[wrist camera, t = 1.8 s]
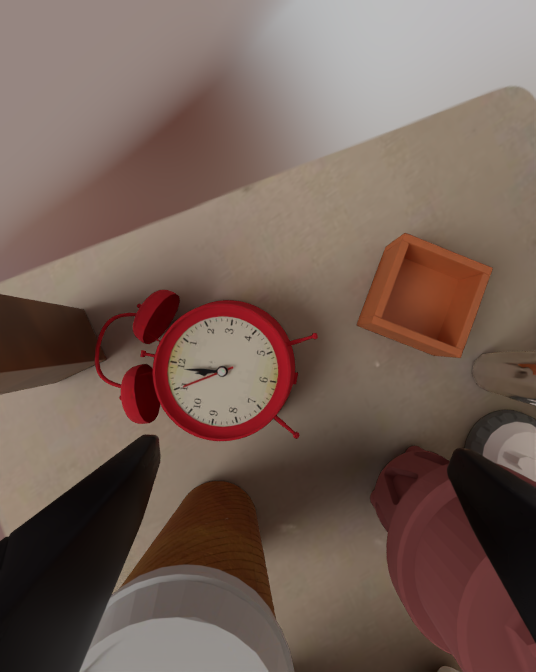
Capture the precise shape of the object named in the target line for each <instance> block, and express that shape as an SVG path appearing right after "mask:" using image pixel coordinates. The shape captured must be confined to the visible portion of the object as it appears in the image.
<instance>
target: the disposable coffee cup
mask: <svg viewBox="0 0 536 672" xmlns="http://www.w3.org/2000/svg"><path fill="white" fill-rule="evenodd" d="M79 672H294V667H293V662H292V657H291V653H290V649H289V646H288V644H287V641H286V639H285V637H284V634H283V632H282V629H281V628H280V626H279V624H278V623H277V621H276V617H275V613H274V606H273V602H272V596H271V591H270V585H269V581H268V574H267V568H266V564H265V558H264V553H263V547H262V543H261V537H260V532H259V526H258V521H257V515H256V510H255V507H254V504H253V502H252V500H251V498H250V497H249V496H248V494H247V493H246V492H245V491H243V490H242V489H241V488H240V487H238V486H236V485H234V484H232V483H228V482H225V481H212V482H207V483H204V484H201V485H200V486H198V487H196V488H194V489H193V490H192V491H191V492H190V493H189V494H188V495H187V496H186V497H185V499H184V500H183V502H182V503H181V504H180V506H179V507H178V508H177V510H176V511H175V513H174V514H173V515H172V517H171V518H170V520H169V521H168V522H167V524H166V525H165V527H164V528H163V529H162V531H161V532H160V533H159V535H158V536H157V537H156V539H155V540H154V542H153V543H152V544H151V546H150V547H149V549H148V550H147V551H146V553H145V554H144V555H143V557H142V558H141V559H140V561H139V562H138V564H137V565H136V566H135V568H134V569H133V571H132V572H131V573H130V575H129V576H128V577H127V579H126V580H125V582H124V583H123V584H122V586H121V587H120V588H119V590H118V591H116V592H114V593H113V594H112V595H111V597H110V599H109V602H108V604H107V607H106V609H105V611H104V614H103V616H102V619H101V621H100V623H99V626H98V628H97V631H96V633H95V635H94V638H93V640H92V643H91V645H90V647H89V650H88V652H87V655H86V657H85V659H84V662H83V664H82V667H81V669H80V671H79Z"/></svg>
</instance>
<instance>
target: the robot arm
mask: <svg viewBox="0 0 536 672" xmlns="http://www.w3.org/2000/svg"><path fill="white" fill-rule="evenodd" d="M159 464H160V447H159V438H158V436H157V435H142V436H140V437H139V438H138V439H136V440H135V441H134V442H132V443H131V444H130V445H128V446H127V447H126V448H124V449H123V450H122V451H120V452H119V453H118V454H116V455H115V456H114V457H112V458H111V459H110V460H108V461H107V462H106V463H104V464H103V465H102V466H100V467H99V468H98V469H96V470H95V471H94V472H92V473H91V474H89V475H88V476H87V477H85V478H84V479H83V480H81V481H80V482H79V483H77V484H76V485H75V486H73V487H72V488H71V489H69V490H68V491H67V492H65V493H64V494H63V495H61V496H60V497H59V498H57V499H56V500H55V501H53V502H52V503H51V504H49V505H48V506H47V507H45V508H44V509H43V510H41V511H40V512H39V513H37V514H36V515H35V516H33V517H32V518H31V519H29V520H28V521H27V522H25V523H24V524H22V525H21V526H20V527H18V528H17V529H16V530H14V531H13V532H12V533H11V534H10V536H9V537H5V538H4V539H2V540H1V541H0V672H79V671H80V669H81V667H82V664H83V662H84V659H85V657H86V655H87V652H88V650H89V647H90V645H91V643H92V640H93V638H94V635H95V633H96V631H97V628H98V626H99V623H100V621H101V619H102V616H103V614H104V611H105V609H106V607H107V604H108V602H109V599H110V597H111V595H112V592H113V590H114V587H115V585H116V582H117V580H118V578H119V575H120V573H121V570H122V568H123V566H124V563H125V561H126V558H127V556H128V554H129V551H130V549H131V546H132V544H133V542H134V539H135V537H136V534H137V532H138V530H139V527H140V525H141V522H142V519H143V516H144V513H145V510H146V507H147V504H148V501H149V497H150V494H151V491H152V487H153V484H154V481H155V477H156V474H157V471H158V468H159ZM447 474H448V478H449V480H450V482H451V484H452V486H453V489H454V491H455V493H456V495H457V497H458V500H459V502H460V504H461V506H462V508H463V511H464V513H465V515H466V517H467V519H468V521H469V524H470V526H471V528H472V530H473V532H474V534H475V535H476V537H477V539H478V541H479V543H480V545H481V546H482V548H483V550H484V552H485V554H486V555H487V557H488V559H489V561H490V563H491V564H492V566H493V568H494V570H495V571H496V573H497V575H498V577H499V579H500V580H501V582H502V584H503V586H504V588H505V589H506V591H507V593H508V595H509V597H510V598H511V600H512V602H513V604H514V606H515V607H516V609H517V611H518V613H519V615H520V616H521V618H522V620H523V622H524V623H525V625H526V627H527V629H528V631H529V632H530V634H531V636H532V638H533V640H534V641H535V643H536V487H534V486H533V485H531V484H529V483H527V482H526V481H524V480H522V479H521V478H519V477H517V476H516V475H514V474H512V473H511V472H509V471H507V470H506V469H504V468H502V467H501V466H499V465H497V464H496V463H494V462H492V461H491V460H489V459H487V458H485V457H484V456H482V455H480V454H479V453H477V452H475V451H474V450H471V449H462V448H458V449H456V450H455V451H454V452H453V455H452V457H451V460H450V462H449V464H448V467H447Z"/></svg>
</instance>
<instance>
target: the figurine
mask: <svg viewBox="0 0 536 672" xmlns="http://www.w3.org/2000/svg"><path fill="white" fill-rule="evenodd" d="M438 672H459V671H457V670H456V669H454V668H452V667H448V666H442V667H441V668H440V669H439V670H438Z"/></svg>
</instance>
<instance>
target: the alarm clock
mask: <svg viewBox="0 0 536 672" xmlns="http://www.w3.org/2000/svg"><path fill="white" fill-rule="evenodd" d="M179 303H180V299H179V296H178V295H177V294H176V293H174V292H172V291H169V290H159V291H156V292H154V293H153V294H151V295H150V296H149V297H148V298H147V299H146V300H145V301H144V302H143V304H142V305H141V304H138V305H137V307H138V308H139V310H138V311H137V313H124V314H119V315H116V316H113V317H112V318H111V319H109V320H108V321H107V322H106V323H105V325H104V326H103V327H102V329H101V332H100V334H99V337H98V340H97V344H96V350H95V367H96V370H97V373H98V375H99V376H100V378H101V379H102V380H104V381H105V382H106V383H108V384H110V385H113V386H115V387H118V388H121V396H120V397H119V398H120V400H121V401H122V405H123V408H124V411H125V413H126V415H127V417H128V418H129V419H130V420H131V421H133V422H135V423H138V424H145V423H151V422H152V421H154V420H155V419H156V417H157V415H158V412H159V408H160V404H161V406H162V408H163V410H164V411H165V412H166V414H167V415H168V416H169V418H170V419H171V420H172V421H173V422H174V423H175V424H176V425H178V426H179V427H180V428H182V429H183V430H185V431H186V432H188V433H190V434H192V435H194V436H196V437H199V438H203V439H206V440H212V441H231V440H236V439H241V438H244V437H247V436H249V435H251V434H253V433H255V432H257V431H259V430H260V429H262V428H263V427H265V426H266V425H267V424H268V423H269V422H270V421H271V420H272V419H275V420H276V421H277V422H278V423H279V424H280V425H281V426H283V427H285V428H286V429H287V430H288V431H290V432H291V433H292V434H293V437H294V438H296V439H297V438H298V437H299V436H300V435H299V433H298V432H294V431H293V430H292V429H291V428H290V427H289V426H288V425H287V424H286V423H285V422H284V421H283V420H281V419H280V418H279V417H278V416H277V414H278V412H279V411H280V410H281V408H282V406H283V405H284V403H285V402H286V400H287V398H288V396H289V394H290V391H291V389H292V386H293V384H296V382H297V376H298V372H297V373H296V372H295V359H294V353H293V349H292V346H291V345H295V344H298V343H301V342H302V341H306V340H309V339H312V338H313V339H317V338H318V335H317V333H313V334H312V335H311V336H308V337H304V338H301V339H300V338H299V339H296V340H292V341H290V340H289V338H288V336H287V334H286V333H285V331H284V330H283V328H282V327H281V326H280V324H279V323H278V322H277V321H276V320H275V319H274V318H273V317H272V316H271V315H269V314H268V313H267V312H265V311H264V310H262V309H260V308H258V307H256V306H254V305H251V304H249V303H245V302H241V301H233V300H223V301H215V302H211V303H208V304H205V305H202V306H200V307H197V308H195V309H193V310H191V311H189V312H187V313H185V314H184V315H183V316H181V317H180V318H179V319H177V320H176V321H175V322H174V323H173V324H172V325H171V326H170V328H169V329H168V330H167V331H166V333H165V334H164V336H163V338H162V339H161V341H160V340H158V338H159V337H160V336H161V335H162V334H163V333H164V332H165V330H166V329H167V328H168V326H169V325H170V323H171V321H172V320H173V318H174V316H175V314H176V312H177V310H178V307H179ZM127 316H135V319H134V322H133V332H134V334H135V336H136V337H137V338H138V339H139V340H140V341H142V342H143V343H145V344H150V343H152V342H154V341H156V340H157V341H159V342H160V343H159V345H158V347H157V350H156V354H150V353H146V351H144V350H141V355H140V357H145V356H151V357H154V362H153V369H152V367H150V366H149V365H148V364H141V365H137V366H134V367H132V368H131V369H130V370H128V371H127V372H126V374H125V375H124V377H123V380H122V384H118V383H115V382H113V381H111V380H109V379H107V378H106V377H105V376H104V375H103V373H102V371H101V369H100V364H99V352H100V345H101V341H102V338H103V335H104V332H105V330H106V329H107V327H108V326H109V324H110V323H112V322H113V321H114V320H116V319H118V318H120V317H127Z"/></svg>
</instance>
